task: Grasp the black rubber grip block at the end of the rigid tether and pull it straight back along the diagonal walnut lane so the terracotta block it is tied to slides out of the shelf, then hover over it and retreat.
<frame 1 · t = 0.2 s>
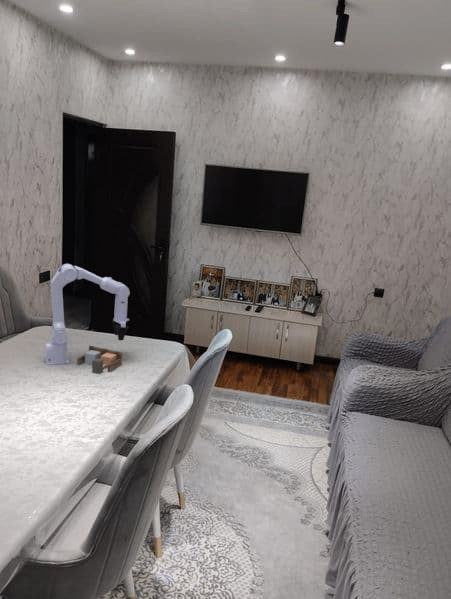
hand: (119, 337, 218), 10 cm above the table, fingers open, 7 cm apart
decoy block: (92, 362, 211), resting in shelf lanes
shelf lanes: (98, 364, 209), on the table
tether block: (108, 365, 209), on the table
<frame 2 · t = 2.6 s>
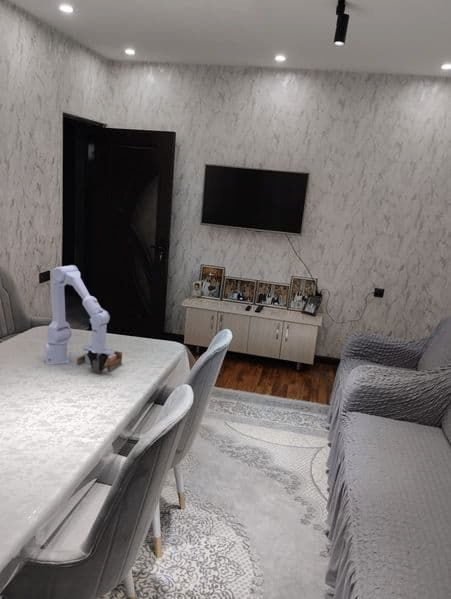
hand: (97, 368, 200), 1 cm above the table, fingers closed on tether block, 3 cm apart
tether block: (108, 365, 209), on the table, touching gripper
everything else where it was.
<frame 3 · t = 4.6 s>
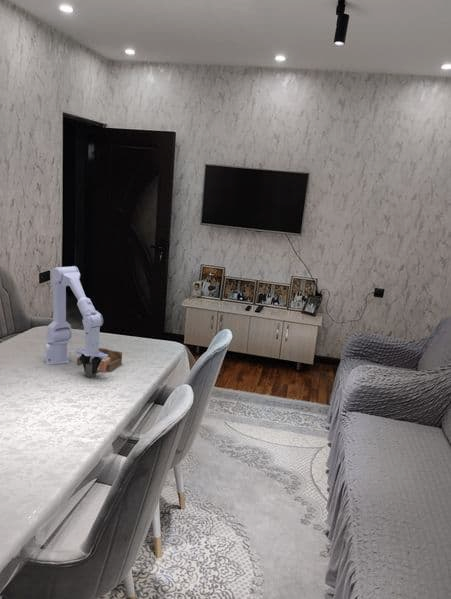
hand: (90, 372, 195), 2 cm above the table, fingers closed on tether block, 3 cm apart
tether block: (101, 369, 204), on the table, touching gripper
everything else where it was.
when the fingers open (2 cm above the table, at t = 6.8 s): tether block stays where it is, on the table.
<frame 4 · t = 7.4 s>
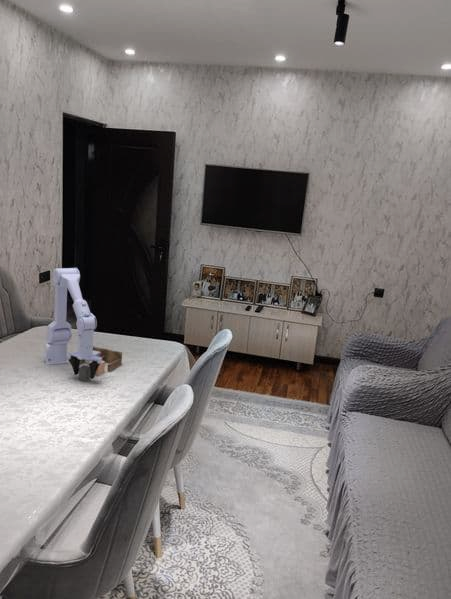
hand: (84, 376, 191), 2 cm above the table, fingers open, 7 cm apart
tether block: (96, 372, 200), on the table
everything else where it was.
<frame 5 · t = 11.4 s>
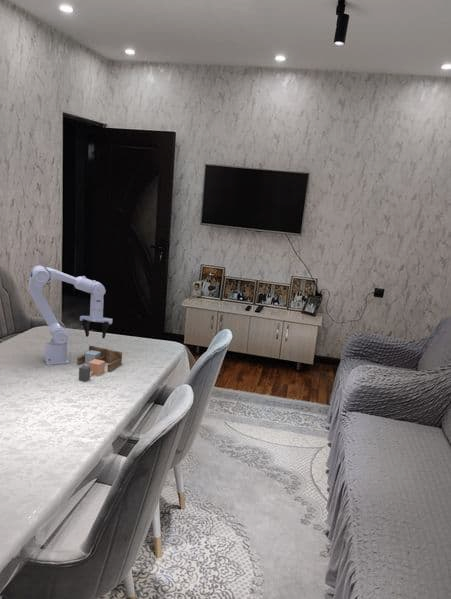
hand: (95, 336, 214), 10 cm above the table, fingers open, 7 cm apart
nothing on the table moved.
at the end: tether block moved 9.9 cm from its start; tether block inside the target area (3.1 cm from its centre), on the table; the gripper is holding nothing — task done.
